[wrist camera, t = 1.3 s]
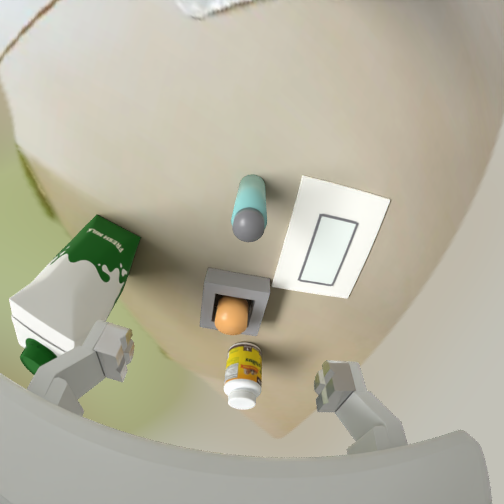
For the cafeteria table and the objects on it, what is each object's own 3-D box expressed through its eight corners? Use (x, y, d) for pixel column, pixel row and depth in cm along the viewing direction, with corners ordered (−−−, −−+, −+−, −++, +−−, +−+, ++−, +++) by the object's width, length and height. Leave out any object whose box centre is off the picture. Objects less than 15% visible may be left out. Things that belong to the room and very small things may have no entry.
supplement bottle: (268, 353, 44) (269, 406, 35) (242, 364, 46) (238, 414, 37) (248, 335, 42) (245, 391, 33) (221, 347, 43) (214, 400, 35)
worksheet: (302, 175, 29) (303, 176, 28) (388, 198, 29) (390, 200, 29) (271, 285, 36) (271, 287, 36) (346, 296, 37) (347, 299, 37)
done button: (219, 291, 35) (216, 309, 32) (250, 297, 35) (250, 315, 32) (216, 313, 37) (213, 332, 34) (245, 318, 37) (244, 337, 34)
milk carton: (83, 256, 35) (7, 357, 18) (93, 204, 31) (-11, 304, 14) (132, 282, 37) (73, 400, 20) (149, 233, 33) (70, 361, 16)
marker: (241, 172, 29) (232, 207, 20) (267, 177, 29) (270, 214, 20) (237, 196, 30) (227, 240, 21) (262, 201, 30) (262, 247, 22)
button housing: (208, 267, 35) (204, 281, 33) (269, 278, 36) (270, 293, 33) (202, 311, 39) (199, 326, 37) (257, 321, 40) (256, 336, 37)
